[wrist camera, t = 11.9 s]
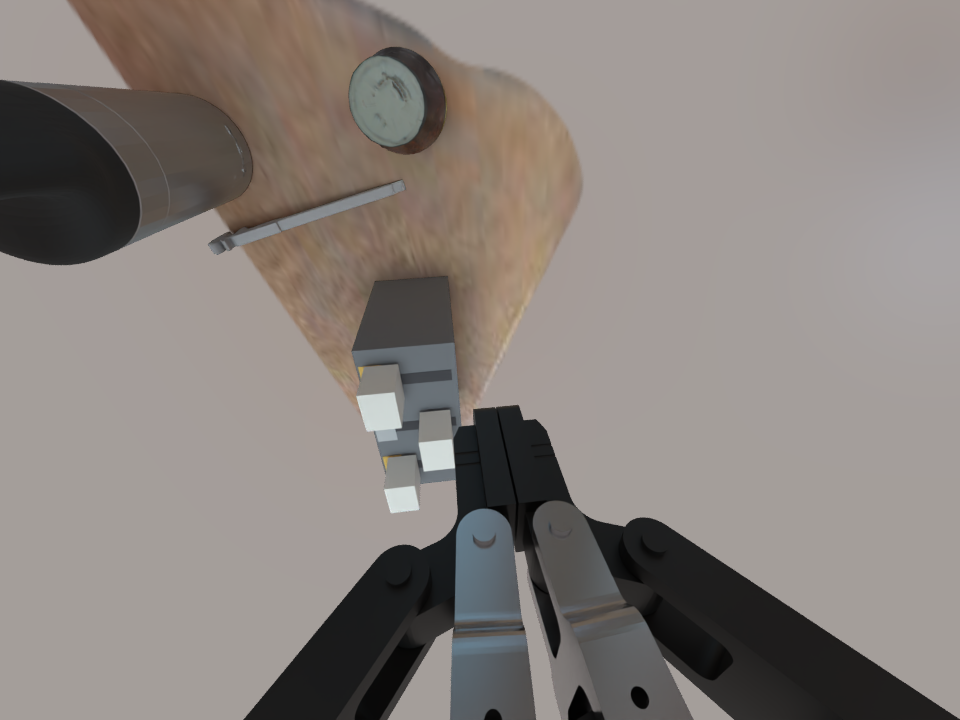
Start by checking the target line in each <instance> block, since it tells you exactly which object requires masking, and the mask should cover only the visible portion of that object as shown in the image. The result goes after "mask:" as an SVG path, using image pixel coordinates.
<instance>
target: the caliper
mask: <svg viewBox="0 0 960 720" xmlns="http://www.w3.org/2000/svg"><path fill="white" fill-rule="evenodd" d="M403 190H406V188H405V186H404V183H403V180H400V181H396V182H393V183H390V184H386V185H383V186H380V187H376V188H373V189H370V190H367V191H364V192H361V193H358V194H355V195H352V196H349V197H346V198H343V199H339V200H336V201H333V202H330V203H327V204H324V205H321V206H318V207H315V208H312V209H309V210H306V211H303V212H299V213H296V214H293V215H290V216H287V217H284V218H281V219H279V218H278V219H275V220H272V221H269V222H266V223H263V224H260V225H257V226H255V227H252V228H249V229H247V228H246V227H243V228H241V229H239V230H238V231H237V232H236V233H235V234H231V232H227V233H225V234H223V235H221V236H219V237H218V238H216V239H214V240H212V241H211V242H210V243H209V244H208V246H209V247H210V249H211V250H212V251H213V253H214V254H217V255H218V254H220V253H222V252H224V251H225V250H227V251H230V250H232V248H234V247H235V246H241V245H244V244H247V243H250V242H253V241H256V240H259V239H262V238H265V237H268V236H271V235H274V234H277V233H280V232H282V231H284V230H287V229H290V228H293V227H296V226H299V225H302V224H305V223H308V222H311V221H315V220H318V219H321V218H324V217H327V216H330V215H333V214H336V213H339V212H342V211H345V210H348V209H351V208H354V207H357V206H360V205H363V204H366V203H369V202H372V201H375V200H378V199H381V198H384V197H387V196H390V195H393V194H395V193H397V192H400V191H403Z"/></svg>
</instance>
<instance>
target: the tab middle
mask: <svg viewBox="0 0 960 720" xmlns="http://www.w3.org/2000/svg"><path fill="white" fill-rule="evenodd" d="M419 448H420V453H421V459H422V464H423V470H424V471H433V470H443V469H452V468H455V461H454V446H453V433H452V424H451V414H450V410H440V411H430V412H420V419H419Z"/></svg>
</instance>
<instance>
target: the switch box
mask: <svg viewBox="0 0 960 720" xmlns="http://www.w3.org/2000/svg"><path fill="white" fill-rule="evenodd" d="M351 352H352V355H353V359H354V362H355V366H356V370H357V373H358V377H359V380H361V376H362V373H363V369H364V367H371V366H382V365H394V364H398V366H399V371H400V377H401V382H402V387H403V392H404V397H405V401H404V411H403V422H402V428H398V429H388V430H378V431H374V434H375V438H376V441H377V445H378V449H379V452H380V456H381V459H382V463H383V466H384V470H385V474H386V469H387V461H388V458H390V457H399V456H408V455H416V458H417V463H418V468H419V473H420V478H421V480H420V484H423V483H432V482H441V481H449V480H456V475H455V468H452V469H443V470H433V471H424V470H423V464H422V459H421V453H420V448H419V419H420V412H430V411H440V410H450V414H451V424H452V433H453V439H454V436H455V434H456V432H457V430H458V427H461V415H460V403H459V391H458V379H457V367H456V356H455V344H454V334H453V323H452V313H451V303H450V293H449V283H448V276H444V277H430V278H416V279H402V280H388V281H375V283H374V286H373V289H372V292H371V295H370V298H369V301H368V304H367V307H366V310H365V313H364V316H363V319H362V322H361V324H360V327H359V330H358V333H357V336H356V339H355V342H354V345H353V348H352V351H351ZM453 446H454V444H453ZM454 461H455V459H454Z"/></svg>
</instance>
